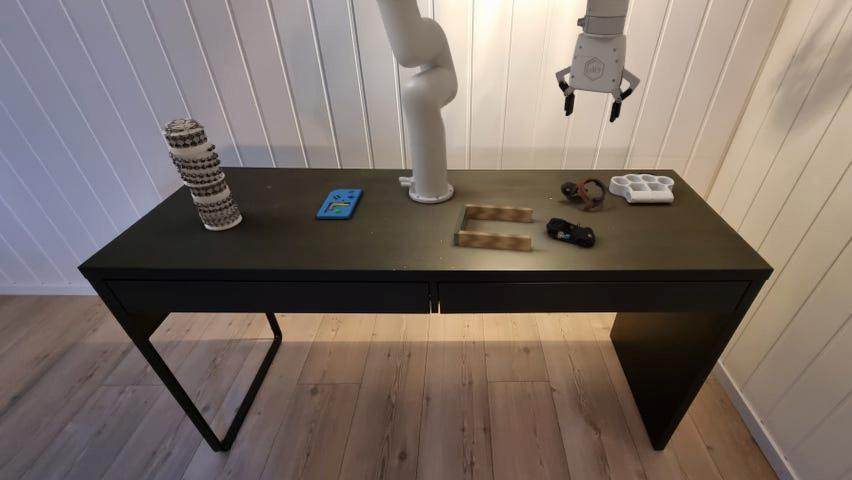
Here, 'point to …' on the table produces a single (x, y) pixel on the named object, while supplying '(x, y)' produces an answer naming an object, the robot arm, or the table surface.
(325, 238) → the table surface
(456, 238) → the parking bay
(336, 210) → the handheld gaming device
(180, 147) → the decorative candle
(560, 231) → the toy car
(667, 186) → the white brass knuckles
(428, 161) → the robot arm
